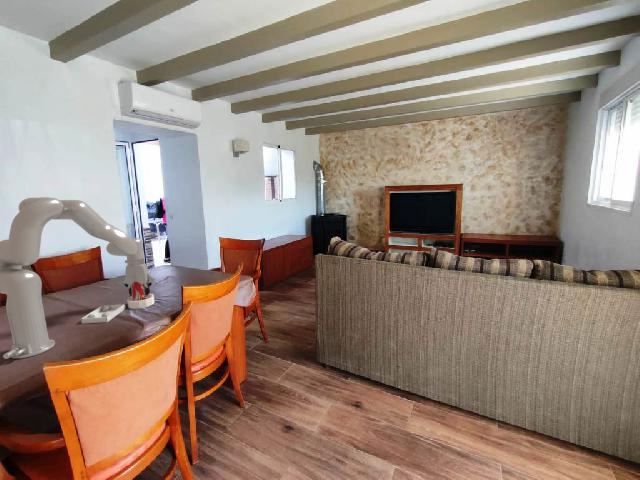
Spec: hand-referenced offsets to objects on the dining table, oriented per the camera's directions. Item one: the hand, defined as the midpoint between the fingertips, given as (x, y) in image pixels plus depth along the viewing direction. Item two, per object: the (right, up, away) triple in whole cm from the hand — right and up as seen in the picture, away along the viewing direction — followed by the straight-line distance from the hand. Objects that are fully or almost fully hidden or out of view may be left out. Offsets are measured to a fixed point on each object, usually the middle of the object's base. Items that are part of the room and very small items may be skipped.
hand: (139, 294), depth 157 cm
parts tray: (-9, -8, -13) cm, 18 cm away
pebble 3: (-6, -8, -17) cm, 20 cm away
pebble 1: (-12, -9, -18) cm, 23 cm away
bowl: (0, -5, +1) cm, 6 cm away
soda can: (0, -3, +1) cm, 3 cm away
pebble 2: (-12, -7, -7) cm, 16 cm away
